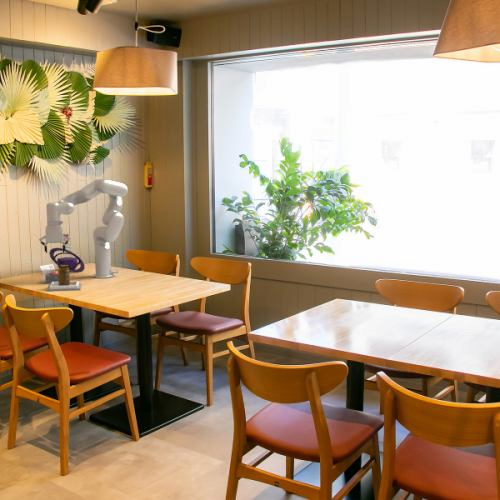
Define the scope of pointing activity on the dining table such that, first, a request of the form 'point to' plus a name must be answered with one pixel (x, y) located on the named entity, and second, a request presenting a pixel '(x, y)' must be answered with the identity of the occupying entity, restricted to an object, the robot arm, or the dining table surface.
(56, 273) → the button
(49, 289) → the tray
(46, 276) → the button housing
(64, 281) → the condiment
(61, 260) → the decorative bottle
